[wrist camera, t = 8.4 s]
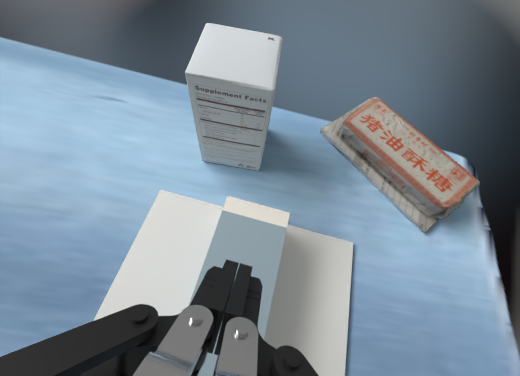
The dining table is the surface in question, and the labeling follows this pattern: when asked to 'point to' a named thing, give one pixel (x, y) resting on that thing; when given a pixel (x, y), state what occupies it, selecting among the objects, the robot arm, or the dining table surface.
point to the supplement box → (233, 93)
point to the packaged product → (401, 162)
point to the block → (247, 252)
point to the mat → (286, 287)
